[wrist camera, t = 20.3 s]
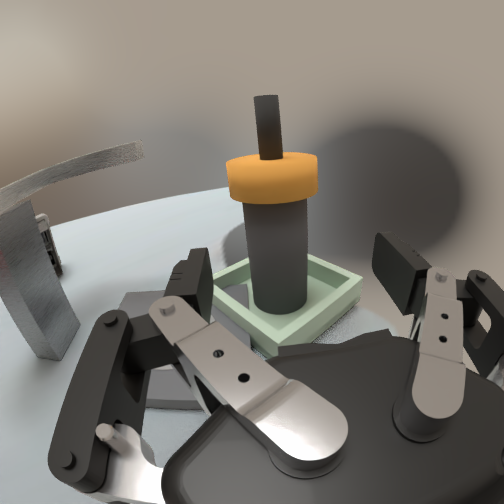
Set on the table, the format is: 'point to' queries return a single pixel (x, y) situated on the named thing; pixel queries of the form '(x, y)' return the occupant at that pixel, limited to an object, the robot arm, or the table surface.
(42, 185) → the clip bar
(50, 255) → the electrical switch
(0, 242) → the clip post
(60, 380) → the table surface
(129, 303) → the socket plate
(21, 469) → the table surface
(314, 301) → the tray
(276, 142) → the plug
